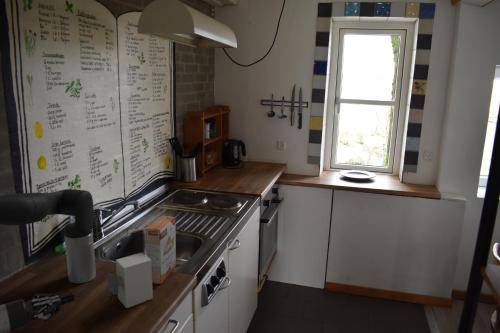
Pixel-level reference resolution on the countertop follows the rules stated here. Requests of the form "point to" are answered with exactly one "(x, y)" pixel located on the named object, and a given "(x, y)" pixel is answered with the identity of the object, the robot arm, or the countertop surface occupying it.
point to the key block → (134, 279)
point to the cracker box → (161, 247)
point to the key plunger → (114, 283)
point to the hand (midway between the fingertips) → (73, 296)
